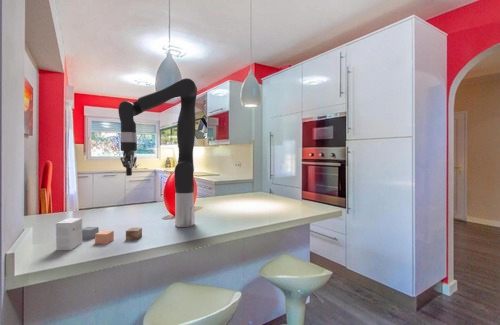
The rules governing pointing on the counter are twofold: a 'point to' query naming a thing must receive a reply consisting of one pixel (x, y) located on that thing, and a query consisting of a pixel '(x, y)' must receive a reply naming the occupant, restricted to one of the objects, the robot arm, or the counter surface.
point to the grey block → (89, 232)
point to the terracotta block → (104, 237)
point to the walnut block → (133, 233)
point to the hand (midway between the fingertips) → (129, 175)
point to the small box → (68, 233)
